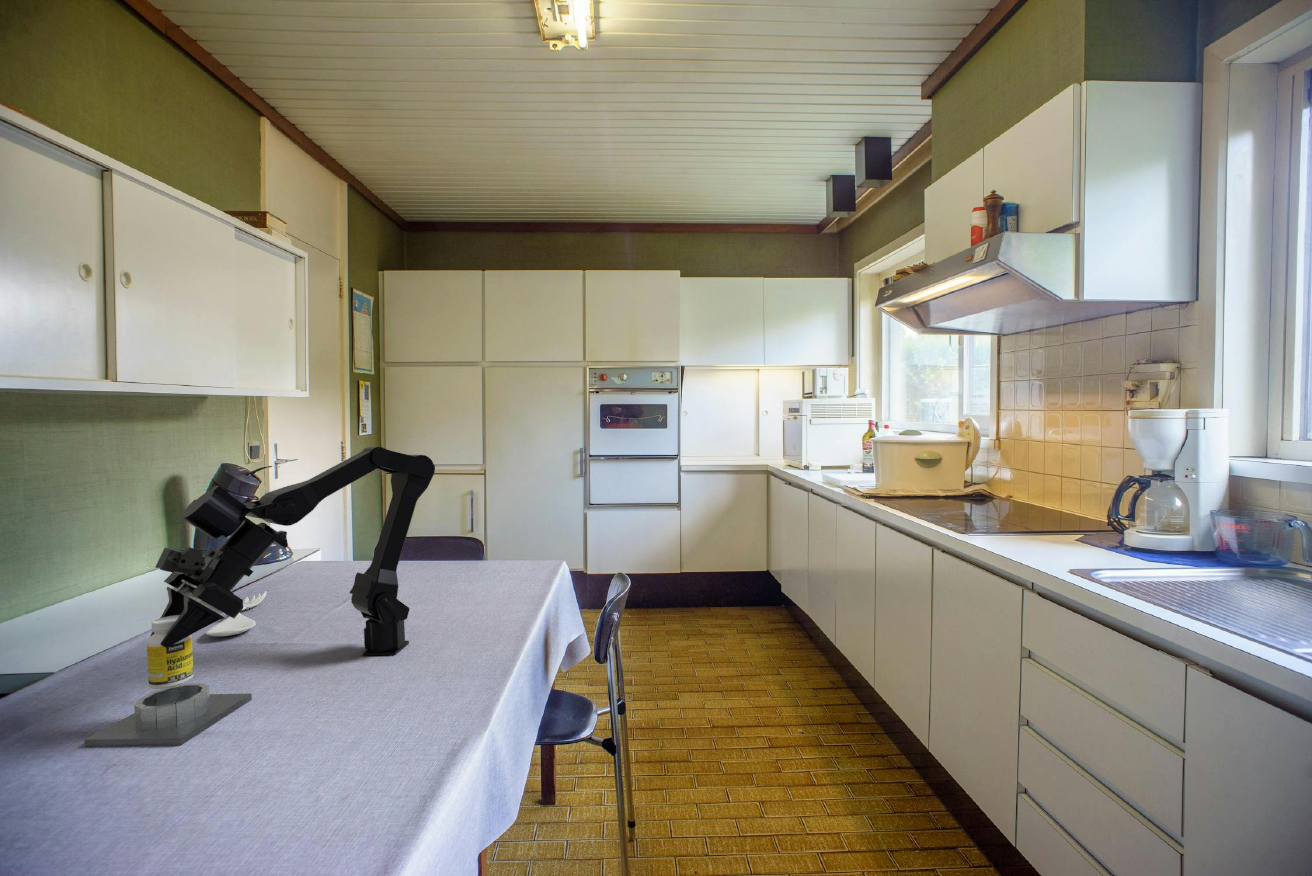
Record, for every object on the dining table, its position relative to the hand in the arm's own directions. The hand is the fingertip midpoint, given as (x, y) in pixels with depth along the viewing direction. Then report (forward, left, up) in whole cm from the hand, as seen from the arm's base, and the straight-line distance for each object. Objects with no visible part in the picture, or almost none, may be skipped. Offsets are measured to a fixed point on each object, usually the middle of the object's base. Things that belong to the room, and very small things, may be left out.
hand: (158, 642), depth 91 cm
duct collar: (-2, 0, -12) cm, 12 cm away
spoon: (+25, -49, -13) cm, 56 cm away
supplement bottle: (-1, -1, -7) cm, 7 cm away
